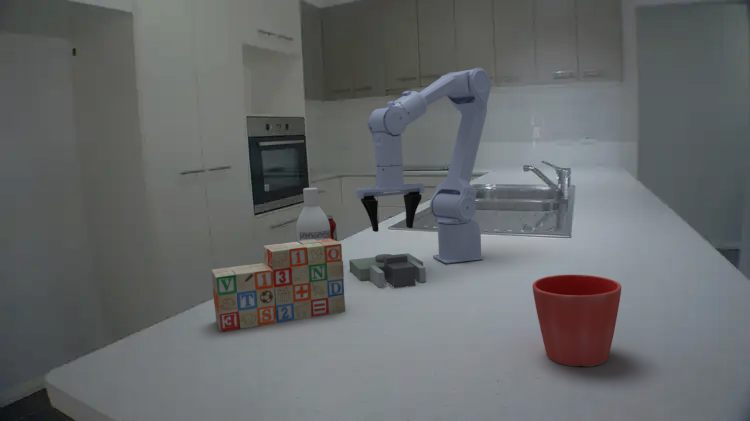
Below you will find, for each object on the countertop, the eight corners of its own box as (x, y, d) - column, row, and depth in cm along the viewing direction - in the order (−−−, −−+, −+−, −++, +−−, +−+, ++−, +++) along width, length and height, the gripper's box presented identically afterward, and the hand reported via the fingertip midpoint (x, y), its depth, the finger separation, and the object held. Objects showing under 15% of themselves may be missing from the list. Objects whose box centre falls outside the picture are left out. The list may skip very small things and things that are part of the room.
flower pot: (521, 344, 79) (520, 276, 78) (597, 337, 80) (597, 270, 79) (551, 376, 68) (550, 298, 67) (638, 368, 69) (639, 291, 68)
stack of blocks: (220, 333, 90) (213, 258, 89) (215, 322, 96) (209, 251, 94) (346, 311, 98) (342, 242, 96) (335, 302, 104) (331, 236, 102)
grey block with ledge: (404, 278, 119) (403, 253, 118) (415, 286, 112) (414, 260, 111) (384, 280, 118) (383, 255, 117) (394, 288, 111) (392, 262, 110)
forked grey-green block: (408, 263, 131) (408, 249, 130) (435, 280, 115) (434, 264, 114) (349, 270, 127) (349, 255, 127) (368, 289, 111) (367, 272, 111)
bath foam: (338, 285, 115) (332, 187, 112) (306, 291, 112) (299, 191, 109) (326, 278, 121) (320, 185, 118) (295, 283, 118) (288, 188, 115)
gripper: (360, 169, 113) (364, 235, 115) (428, 163, 117) (431, 228, 119) (352, 167, 120) (356, 230, 121) (416, 162, 123) (419, 223, 125)
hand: (392, 229), depth 121 cm, fingers open, 7 cm apart
